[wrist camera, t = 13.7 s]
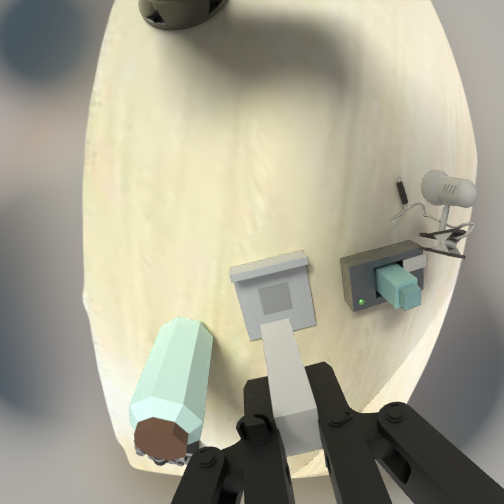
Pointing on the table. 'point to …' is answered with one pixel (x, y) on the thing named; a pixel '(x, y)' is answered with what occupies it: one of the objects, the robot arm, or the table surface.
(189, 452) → the camera
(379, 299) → the port
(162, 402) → the water bottle
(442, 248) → the clip-on lamp
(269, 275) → the grey lipped plate
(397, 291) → the plug
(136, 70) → the table surface
